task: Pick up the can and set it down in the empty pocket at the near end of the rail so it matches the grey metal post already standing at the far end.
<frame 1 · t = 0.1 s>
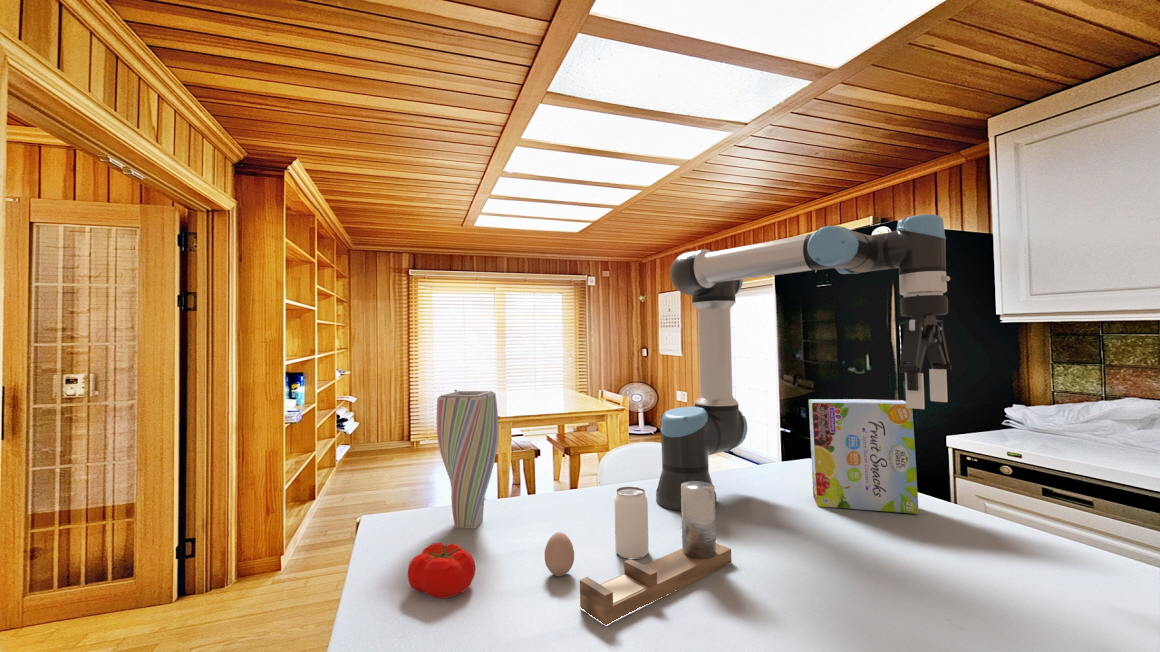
hand: (927, 404, 92), 28 cm above the kitchen island, fingers open, 13 cm apart
vase: (468, 524, 110), on the kitchen island
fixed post: (699, 552, 87), resting on rail
can: (632, 553, 93), on the kitchen island
rail: (662, 583, 81), on the kitchen island
snack box: (862, 506, 117), on the kitchen island
egg: (559, 575, 85), on the kitchen island
tomato: (442, 590, 81), on the kitchen island
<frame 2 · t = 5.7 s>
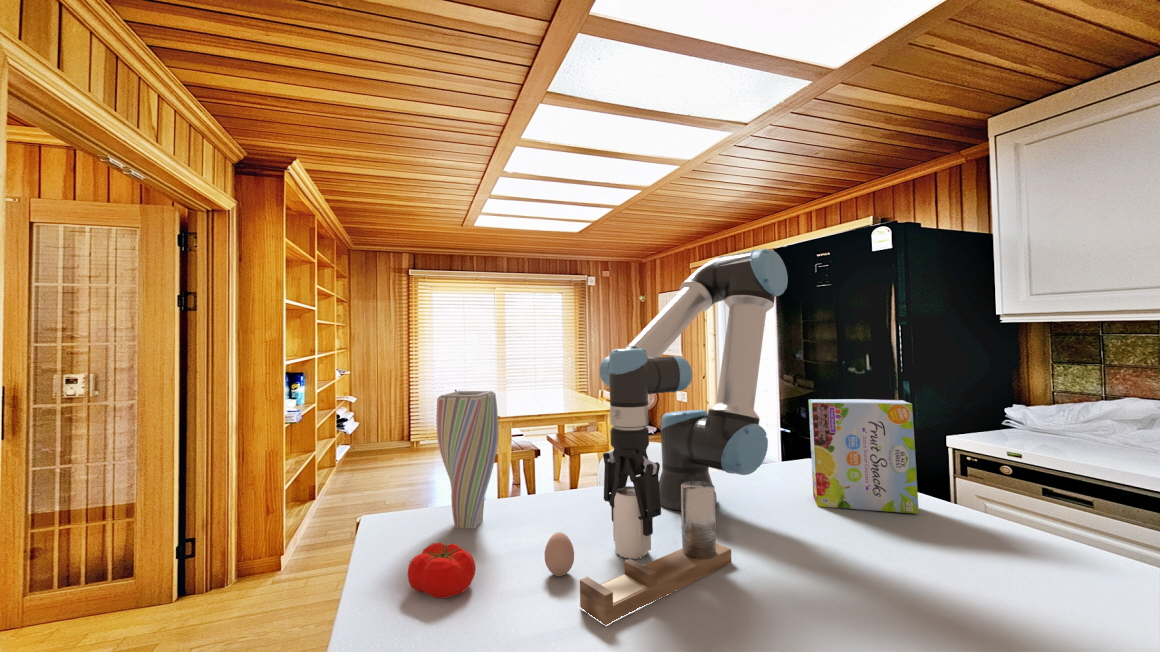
hand: (631, 545, 93), 1 cm above the kitchen island, fingers closed on can, 6 cm apart
can: (631, 553, 93), on the kitchen island, touching gripper
everything else where it was.
when the fingers open (5 cm above the kitchen island, at t = 10.9 s): can drops 1 cm, resting on rail.
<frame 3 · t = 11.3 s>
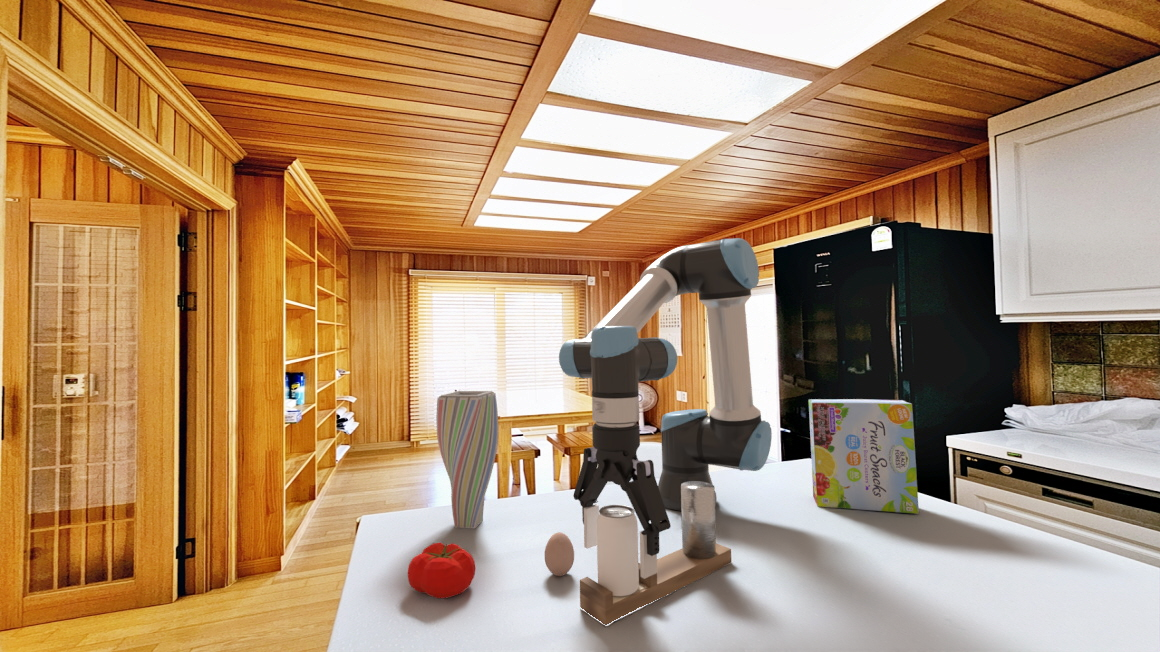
hand: (618, 559, 75), 7 cm above the kitchen island, fingers open, 12 cm apart
can: (618, 588, 75), point 2 cm above the kitchen island, touching rail
everything else where it was.
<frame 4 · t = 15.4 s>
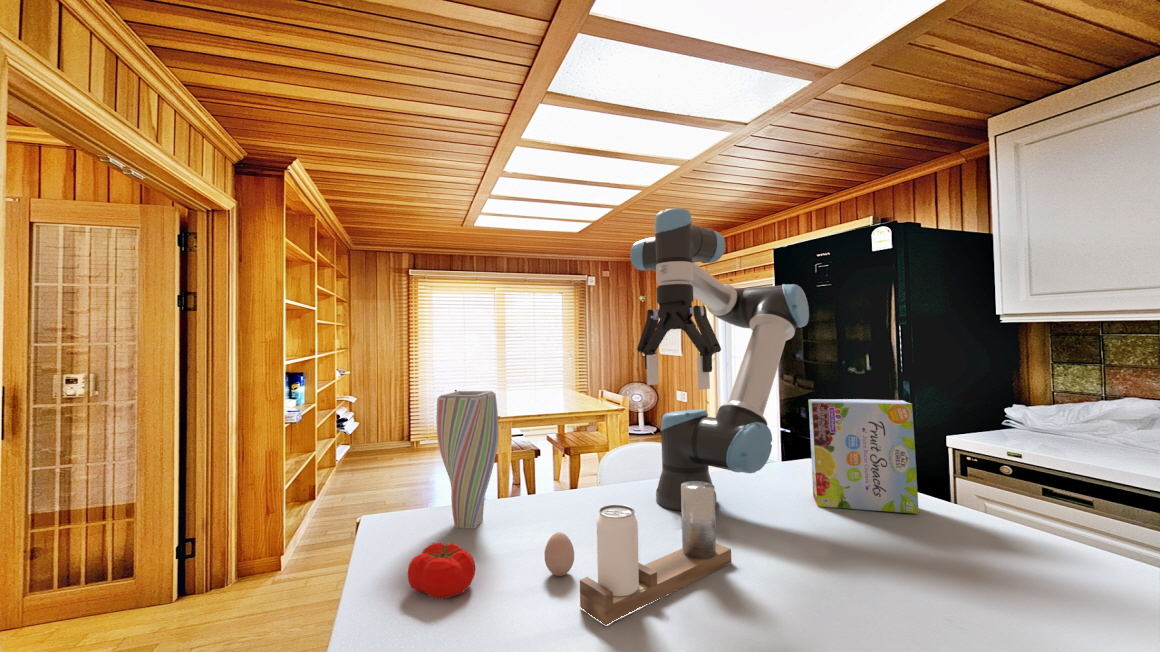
hand: (677, 386, 99), 32 cm above the kitchen island, fingers open, 13 cm apart
nothing on the kitchen island moved.
at the end: can 0.2 cm from the target spot on the rail, point 2.4 cm above the rail's base; can tilted 0°; the gripper is holding nothing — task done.
